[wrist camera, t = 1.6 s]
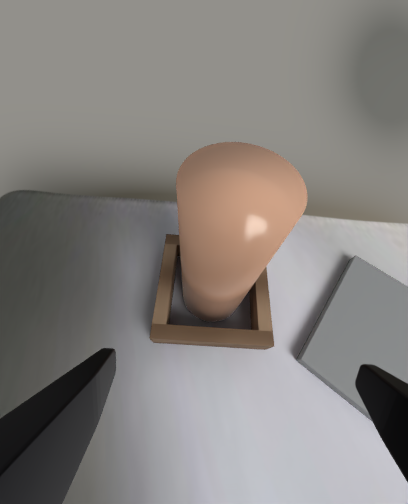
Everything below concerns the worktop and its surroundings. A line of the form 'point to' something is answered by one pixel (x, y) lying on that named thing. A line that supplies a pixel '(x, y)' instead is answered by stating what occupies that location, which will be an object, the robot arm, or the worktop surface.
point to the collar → (209, 336)
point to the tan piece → (232, 222)
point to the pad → (359, 331)
